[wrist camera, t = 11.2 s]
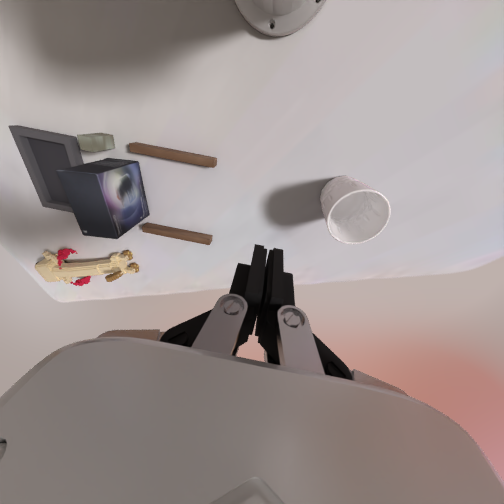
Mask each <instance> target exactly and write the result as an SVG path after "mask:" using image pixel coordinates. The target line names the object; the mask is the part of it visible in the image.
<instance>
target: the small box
mask: <svg viewBox="0 0 504 504" xmlns="http://www.w3.org/2000/svg"><path fill="white" fill-rule="evenodd" d="M56 172H57V175H58V177H59V179H60V182H61V184H62V186H63V189H64V191H65V193H66V196H67V198H68V200H69V203H70V205H71V208H72V210H73V212H74V215H75V217H76V219H77V222H78V224H79V226H80V229H81V231H82V234H83V235H85V236H94V237H103V238H112V239H118V238H119V237H121V236H122V235H123V234H125V233H126V232H127V231H129V230H130V229H131V228H132V227H134V226H135V225H136V224H138V223H139V222H140V221H142V220H143V219H144V218H146V217H147V216H149V210H148V205H147V201H146V196H145V191H144V186H143V181H142V176H141V171H140V166H139V162H138V161H131V160H122V159H112V158H106V159H104V160H100V161H95V162H91V163H87V164H83V165H78V166H75V167H70V168H66V169H60V170H56Z"/></svg>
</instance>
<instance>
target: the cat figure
mask: <svg viewBox="0 0 504 504" xmlns="http://www.w3.org/2000/svg"><path fill="white" fill-rule="evenodd" d="M70 252H71V253H72V254H73V253H75V252H76V251H74V250H72V249H63V250H59V251H58V253H57V254H55V256H54V254H51V253H49V252H48V251H45V252H43V253H42V254H43V255H44V257H45V259H43V260H42V261H40V262H37V263H36V265H35V269H36V270H37V271H38V273H39V274H40V275H41V276H42V277H43V278H44V280H45V281H47V282H56V281H60V280H62V279H63V280H64V282H65V283H66V284H69V283H71V284H72V283H73V282H71V281H72V277H81V276H87V277H84V278H82V279H78V280H76V282H75V283H73V285H76V286H77V285H79V286H82V285H83V284H88V283H89V282H90V281H89V280H90V278H91V276H92V275H103V274H106V273H113V274H110V275H107V276H106V277H105V278H106V280H107V282H112V281H114V280H116V279H118V278H119V277H121V276H122V275H123V274H126V273H130V274H133V273H135V272H138V271H139V266H138V264H136V263H132V264H131V265H130V266H131V267H128V266H127V262H126V261H127V260H131V259H132V258H133V257H132V253H131V252H130V251H129V250H126V251H124V252H123V254H122V255H121V254H120V253H114V254H113V255H112V256H111V258H110V259H106V260H99V261H92V262H82V263H77V262H76V263H65V262H64V261H63V259H66V258H68V255H70ZM76 254H78V253H76ZM57 255H58V256H57Z"/></svg>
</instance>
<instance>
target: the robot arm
mask: <svg viewBox="0 0 504 504" xmlns="http://www.w3.org/2000/svg"><path fill="white" fill-rule="evenodd" d="M234 1H235V3H236V5H237V7H238V9H239V11H240V13H241V14H242V15H243V17H244V18H245V19H246V21H247V22H248V23H249V24H250V25H251V26H252V27H253V28H255V29H256V30H258V31H260V32H261V33H263V34H266V35H270V36H285V35H289V34H292V33H294V32H296V31H298V30H300V29H301V28H303V27H304V26H305V25H306V24H307V23H309V22H310V21H311V20H312V19H313V18H314V16H315V15H316V14H317V13H318V12H319V11H320V9H321V7H322V6H323V4H324V3H325V1H326V0H320V1H319V3H316V1H315V0H234ZM271 24H273V25H274V28H273V29H271V28H270V25H271ZM266 255H267V249H264V246H261V245H256V244H255V247H254V252H253V257H252V262H251V265H246V264H241V263H238V265H237V268H236V272H235V275H234V279H233V282H232V285H231V289H230V292H229V294H226V295H223V296H222V297H220V298H219V299H218V301H217V302H216V304H215V306H214V308H213V309H212V310H210V311H208V312H205V313H203V314H201V315H199V316H197V317H194V318H192V319H190V320H188V321H185V322H183V323H181V324H179V325H177V326H175V327H172V328H171V329H169V330H167V331H166V332H160V330H112V331H107V332H105V333H103V334H101V335H100V336H98V337H97V338H94V339H88V340H83V341H79V342H76V343H72V344H69V345H66V346H64V347H62V348H60V349H58V350H56V351H54V352H53V353H51V354H50V355H48V356H47V357H45V358H44V359H43V360H42V361H40V362H39V363H38V364H37V365H35V366H34V367H33V368H32V369H31V370H30V371H28V373H26V374H25V375H24V376H23V377H22V378H21V379H19V380H18V381H17V382H16V383H15V384H14V385H13V386H12V387H11V388H10V389H9V390H8V391H7V392H5V393H4V394H3V396H2V397H1V398H0V504H504V482H503V480H502V478H501V477H500V475H499V474H498V472H497V471H496V469H495V468H494V466H493V465H492V463H491V462H490V460H489V459H488V457H487V456H486V455H485V453H484V452H483V451H482V449H481V448H480V447H479V445H478V444H477V443H476V442H475V441H474V439H473V438H472V437H471V436H470V435H469V434H468V433H467V432H466V431H465V430H464V429H463V428H462V427H461V426H460V425H459V424H457V423H456V422H455V421H453V420H452V419H450V418H449V417H448V416H446V415H445V414H443V413H441V412H440V411H438V410H436V409H435V408H433V407H431V406H429V405H428V404H426V403H423V402H421V401H419V400H417V399H415V398H412V397H410V396H408V395H407V394H406V393H405V392H404V391H402V390H401V389H399V388H397V387H395V386H392V385H390V384H388V383H386V382H383V381H381V380H379V379H376V378H374V377H372V376H369V375H367V374H364V373H362V372H360V371H357V370H355V369H354V370H353V371H351V370H349V369H348V367H347V366H346V365H345V364H344V362H342V361H341V360H340V359H339V358H338V357H337V356H336V355H335V354H334V353H333V352H332V351H331V350H330V349H329V348H328V347H327V346H326V345H325V344H323V342H322V341H321V340H320V339H318V338H317V337H316V336H315V335H314V334H313V333H312V331H311V327H310V324H309V321H308V318H307V316H306V314H305V313H304V312H303V311H302V310H301V309H299V308H297V307H295V301H294V287H293V275H292V274H291V273H286V272H283V250H282V249H276V248H274V249H273V250H270V251H269V255H268V259H267V263H266ZM265 265H266V267H265ZM256 317H257V322H256V331H255V336H259V337H258V343H260V345H261V346H262V347H263V348H264V349H265V351H264V359H265V362H261V361H256V360H251V359H246V358H241V357H236V355H237V352H238V350H239V346H240V345H242V344H244V343H245V342H247V340H248V336H249V335H252V332H253V329H254V325H255V321H256Z"/></svg>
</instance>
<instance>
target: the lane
mask: <svg viewBox="0 0 504 504" xmlns="http://www.w3.org/2000/svg"><path fill="white" fill-rule="evenodd" d="M77 137H78V141H79V144H80V148H81V150H85V151H90V152H97V151H102V150H108V149H113V148H115V144H114V139H113V135H110V134H104V133H94V134H83V135H77ZM129 147H130V152H135V153H140V154H145V155H150V156H156V157H161V158H166V159H171V160H176V161H181V162H186V163H191V164H197V165H202V166H207V167H212V168H214V167H215V166H216V165H217V158H215V157H209V156H204V155H199V154H194V153H189V152H184V151H179V150H173V149H168V148H163V147H158V146H153V145H148V144H143V143H137V142H135V143H129ZM142 230H143V232H146V233H151V234H156V235H161V236H166V237H171V238H176V239H181V240H186V241H191V242H196V243H201V244H206V245H210V243H211V241H212V235H208V234H203V233H197V232H192V231H187V230H182V229H177V228H172V227H167V226H162V225H157V224H152V223H146V224H145V225H143V226H142Z"/></svg>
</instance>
